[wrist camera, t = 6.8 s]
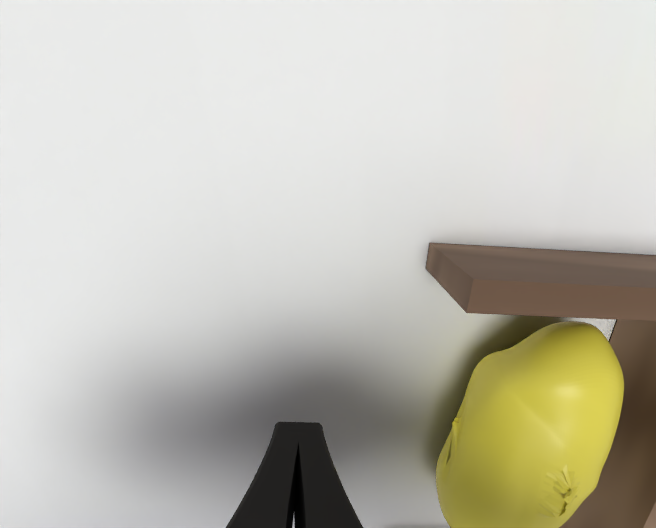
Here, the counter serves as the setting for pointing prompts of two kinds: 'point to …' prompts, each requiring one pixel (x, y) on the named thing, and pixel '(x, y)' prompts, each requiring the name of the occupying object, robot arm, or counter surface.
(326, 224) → the counter surface
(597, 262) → the brown open frame
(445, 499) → the yellow potato
